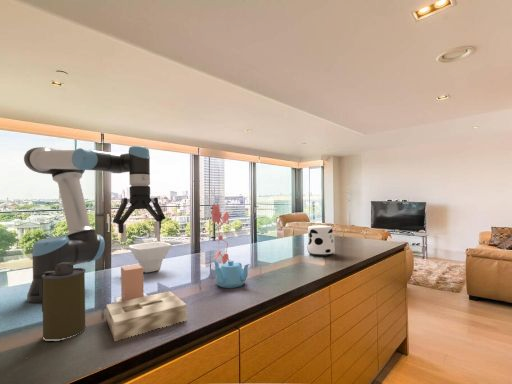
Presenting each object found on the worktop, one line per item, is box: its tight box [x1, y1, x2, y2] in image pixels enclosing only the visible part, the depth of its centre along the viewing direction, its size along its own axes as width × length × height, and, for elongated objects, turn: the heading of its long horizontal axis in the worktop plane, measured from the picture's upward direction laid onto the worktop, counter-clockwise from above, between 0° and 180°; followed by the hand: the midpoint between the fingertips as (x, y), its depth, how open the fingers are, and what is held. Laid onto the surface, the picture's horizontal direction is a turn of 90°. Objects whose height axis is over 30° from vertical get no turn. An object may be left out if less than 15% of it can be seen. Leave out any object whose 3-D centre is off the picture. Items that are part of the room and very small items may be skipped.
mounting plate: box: [106, 290, 188, 342], centre depth 86 cm, size 20×16×5 cm
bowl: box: [128, 241, 172, 273], centre depth 147 cm, size 19×19×14 cm
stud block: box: [120, 263, 145, 301], centre depth 99 cm, size 6×7×14 cm
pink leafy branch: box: [207, 203, 231, 268], centre depth 161 cm, size 15×26×35 cm, turn 32°
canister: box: [41, 262, 87, 339], centre depth 80 cm, size 11×10×20 cm
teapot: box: [212, 258, 251, 289], centre depth 121 cm, size 15×15×10 cm
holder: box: [114, 291, 148, 303], centre depth 98 cm, size 10×10×3 cm
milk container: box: [306, 224, 336, 257], centre depth 178 cm, size 17×17×18 cm
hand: (141, 239), depth 109 cm, fingers open, 13 cm apart
